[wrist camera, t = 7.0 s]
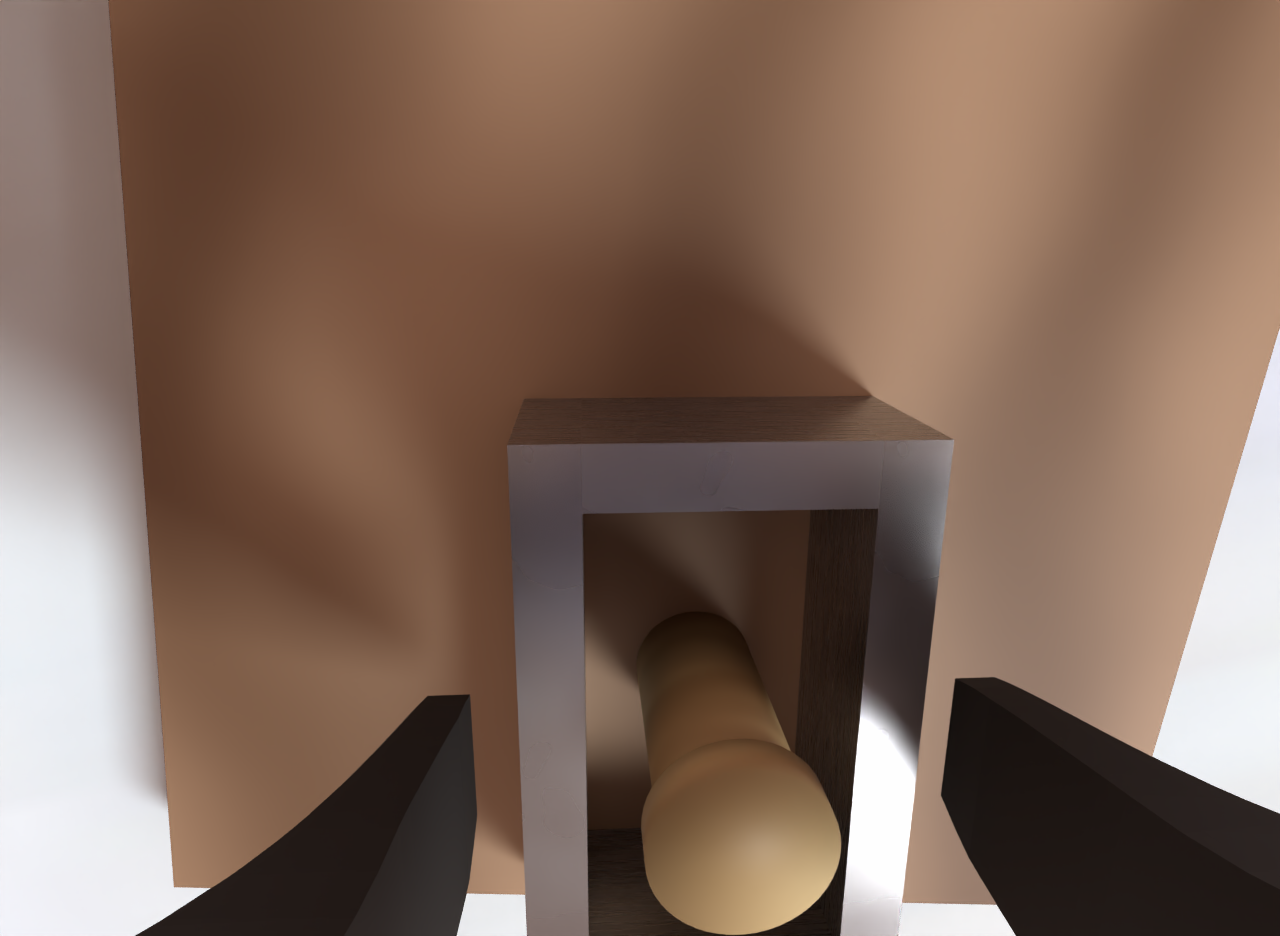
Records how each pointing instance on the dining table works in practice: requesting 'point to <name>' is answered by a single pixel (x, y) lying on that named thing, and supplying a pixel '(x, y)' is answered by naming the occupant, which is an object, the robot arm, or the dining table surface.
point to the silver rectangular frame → (831, 640)
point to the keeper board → (674, 376)
